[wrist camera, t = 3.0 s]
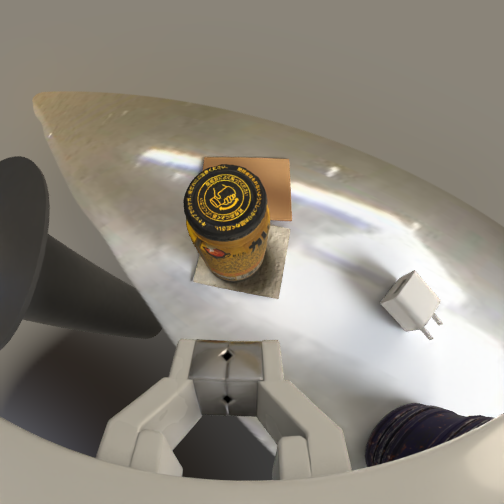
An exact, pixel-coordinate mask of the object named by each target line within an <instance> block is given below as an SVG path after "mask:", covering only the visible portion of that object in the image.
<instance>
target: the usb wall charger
mask: <svg viewBox="0 0 504 504" xmlns="http://www.w3.org/2000/svg"><path fill="white" fill-rule="evenodd" d="M440 301H441V300H440V299H439V298H438V297H437V295H436V294H435V293H434V292H433V291H432V290H431V288H430V287H429V286H428V285H427V284H426V283H425V281H424V280H423V279H422V278H421V277H420V276H419V275H418V273H417V272H416V271H415V270H414V271H412V272H410V273H408V274H406V275H404V276H402V277H401V278H399V279H398V280H397V281H396V283H395V284H394V285H393V286H392V288H391V289H390V290H389V292H388V293H387V294H386V295H385V297H384V298H383V299H382V301H381V302H380V304H381V305H382V306H383V307H384V308H385V309H386V310H387V311H388V312H389V314H390V315H391V316H392V317H393V318H394V319H395V320H396V321H397V322H398V323H399V324H400V326H401V327H402V328H403V329H404V330H405V331H413V330H419V329H420V330H421V331H422V332H423V333H424V334H425V336H426V337H427V338H428V339H429V340H431V339H433V337H432V336H431V335H430V333H429V332H428V331H427V330H426V329H425V328H424V326H425V325H426V324H427V323H428V321H429V320H430V318H431V317H432V318H433V319H434V320H435V321H436V323H437V324H438V325H442V324H443V323H442V322H441V321H440V319H439V318H438V317H437V316H436V314H435V313H434V312H435V310H436V309H437V307H438V305H439V304H440ZM438 321H439V322H440V323H439V322H438ZM429 336H430V337H431V338H430V337H429Z"/></svg>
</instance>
